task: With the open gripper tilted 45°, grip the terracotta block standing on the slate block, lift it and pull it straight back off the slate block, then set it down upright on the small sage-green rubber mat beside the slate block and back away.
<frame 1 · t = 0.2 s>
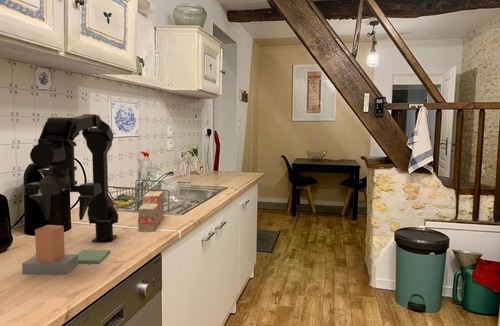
hand: (64, 219, 99), 15 cm above the worktop, tool pointing down, fingers open, 9 cm apart
green mat: (90, 258, 111), on the worktop
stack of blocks: (151, 225, 149), on the worktop
terracotta block: (50, 258, 102), point 3 cm above the worktop, touching slate block
slate block: (51, 268, 102), on the worktop
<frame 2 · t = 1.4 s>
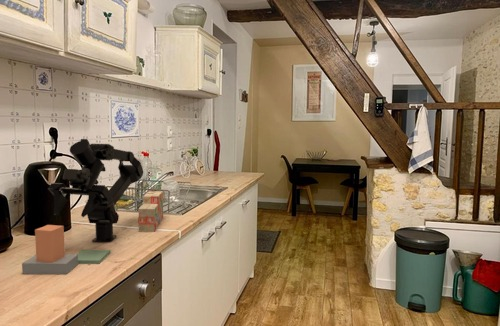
hand: (68, 215, 108), 14 cm above the worktop, tool tilted 45°, fingers open, 9 cm apart
nothing on the worktop moved.
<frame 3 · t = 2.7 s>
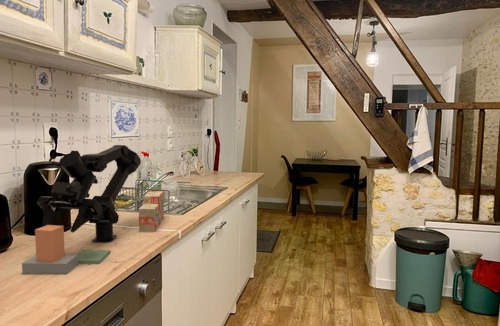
hand: (57, 230, 104), 10 cm above the worktop, tool tilted 45°, fingers open, 9 cm apart
nothing on the worktop moved.
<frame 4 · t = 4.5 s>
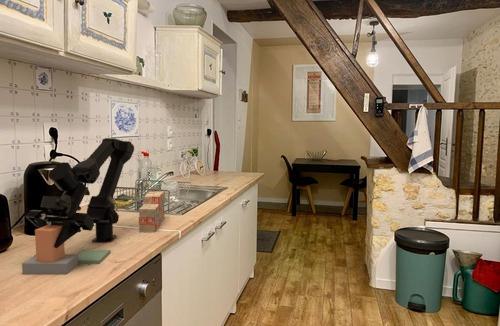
hand: (46, 246, 100), 7 cm above the worktop, tool tilted 45°, fingers closed on terracotta block, 5 cm apart
terracotta block: (50, 258, 102), point 3 cm above the worktop, touching gripper, slate block
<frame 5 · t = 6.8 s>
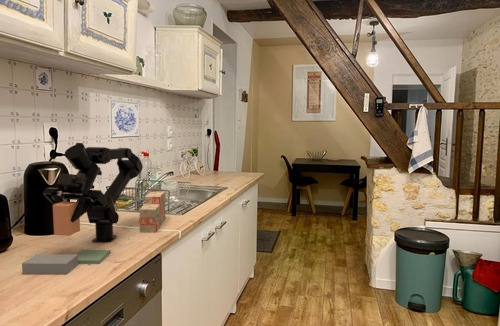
hand: (63, 221, 106), 12 cm above the worktop, tool tilted 45°, fingers closed on terracotta block, 5 cm apart
terracotta block: (67, 232, 108), point 8 cm above the worktop, touching gripper
when the fingers open (6 cm above the worktop, at t = 9.4 s): terracotta block drops 2 cm, resting on green mat.
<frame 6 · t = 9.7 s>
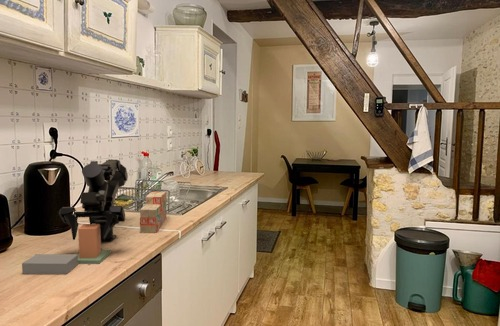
hand: (88, 238, 109), 7 cm above the worktop, tool tilted 45°, fingers open, 8 cm apart
terracotta block: (90, 254, 110), point 1 cm above the worktop, touching green mat
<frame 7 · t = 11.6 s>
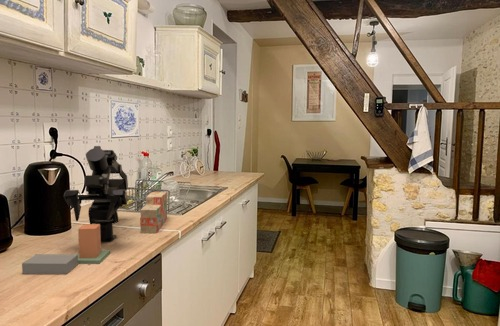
hand: (92, 220, 112), 11 cm above the worktop, tool tilted 45°, fingers open, 9 cm apart
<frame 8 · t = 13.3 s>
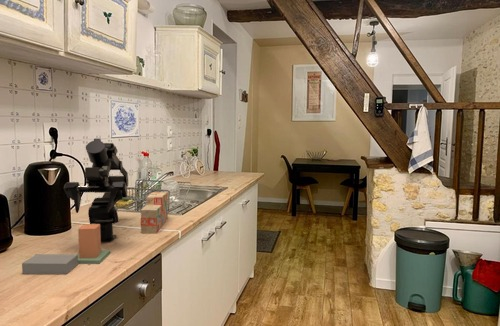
hand: (92, 212, 113), 14 cm above the worktop, tool tilted 45°, fingers open, 9 cm apart
at the end: terracotta block 0.0 cm off-centre on the green mat, point 1.0 cm above the green mat's base; terracotta block tilted 0°; the gripper is holding nothing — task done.
